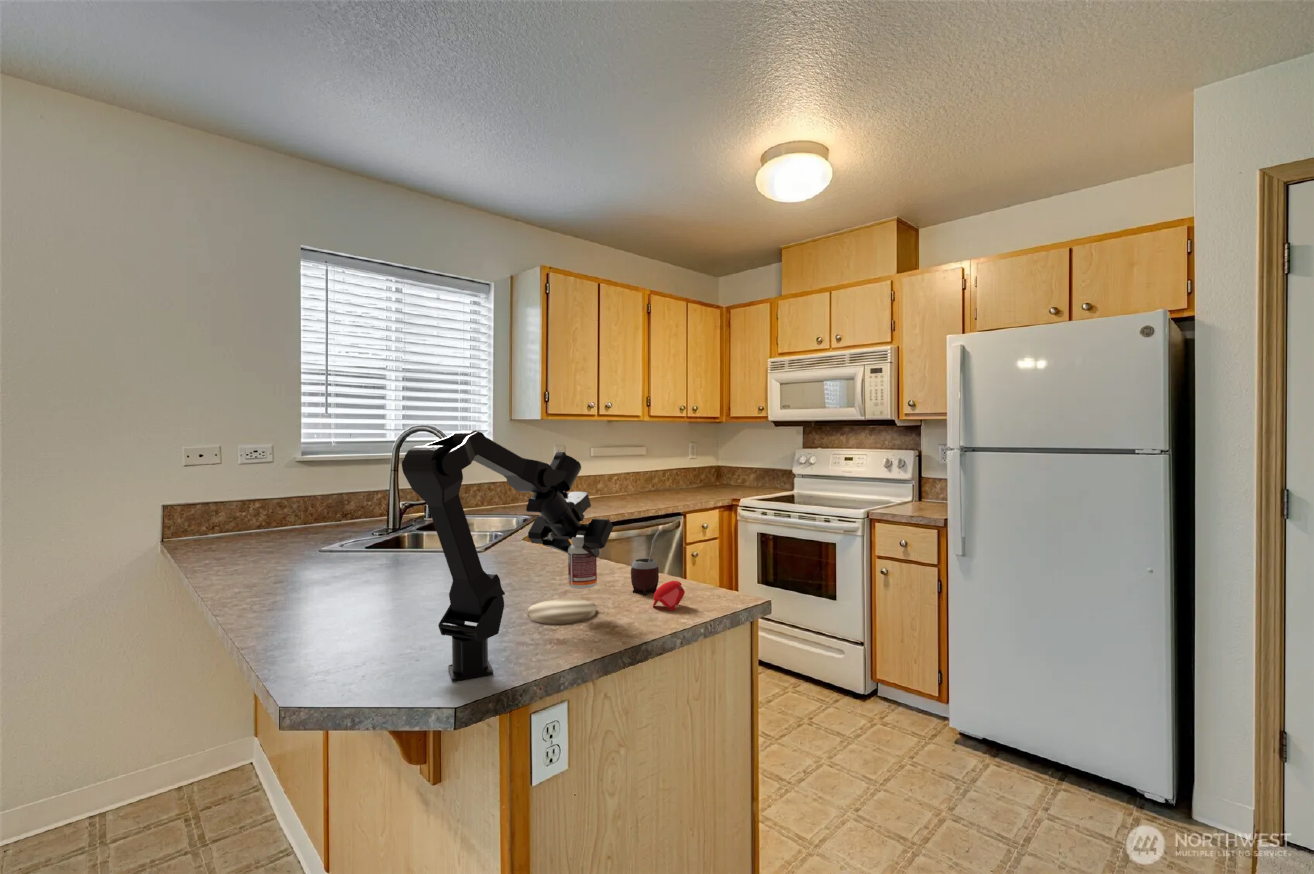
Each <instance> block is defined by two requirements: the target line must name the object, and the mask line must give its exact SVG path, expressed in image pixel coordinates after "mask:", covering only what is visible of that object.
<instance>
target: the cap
mask: <svg viewBox="0 0 1314 874" xmlns="http://www.w3.org/2000/svg"><path fill="white" fill-rule="evenodd" d="M685 593H686V591H685V589H684V587H683V586H682V582H681V581H679V580H670V581H667V582H664V583H663V584H662V585H660V586H659V587H657V590H656V592H655V593H653V604H652V608H654V607H655V606H656V605H657V603H658V602H659V603H661V604H662V605H663V606H664V607H667V609H669V611H675V610H676V606H679V604H680V602H681V600H682V599H683V597H684V596H685Z"/></svg>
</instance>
